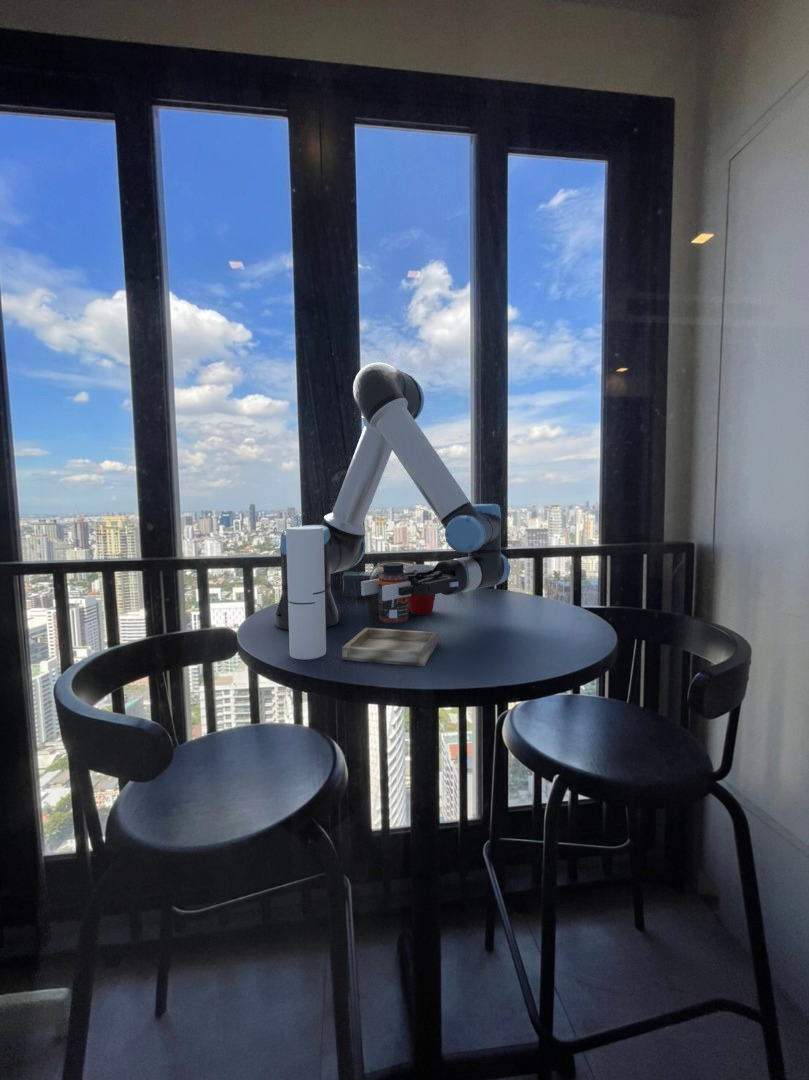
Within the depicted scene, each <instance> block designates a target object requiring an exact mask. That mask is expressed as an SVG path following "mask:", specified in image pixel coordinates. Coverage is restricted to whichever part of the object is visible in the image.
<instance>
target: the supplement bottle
mask: <svg viewBox="0 0 809 1080" xmlns="http://www.w3.org/2000/svg"><path fill="white" fill-rule="evenodd" d="M382 567H383V569H382V570H383V571H382V573H381V574H380V575H379V577H378V579H379V593H378V618H379V620H380V621H381V622H384V623H388V624H389V623H390V624H399V623H404V622H406V621H408V620H409V612H410V609H409V596H407V597H402V598H397V599H392V600H387V601H383V600H382V586H385V585H391V584H397V583H403V582H408V576H407V575H406V574H405V573H404V571H403V570H404V567H405V566H404V563H402V562H385V563H383V566H382Z"/></svg>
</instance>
